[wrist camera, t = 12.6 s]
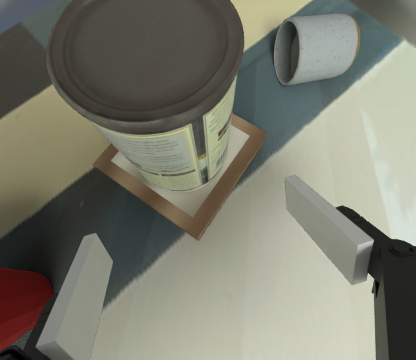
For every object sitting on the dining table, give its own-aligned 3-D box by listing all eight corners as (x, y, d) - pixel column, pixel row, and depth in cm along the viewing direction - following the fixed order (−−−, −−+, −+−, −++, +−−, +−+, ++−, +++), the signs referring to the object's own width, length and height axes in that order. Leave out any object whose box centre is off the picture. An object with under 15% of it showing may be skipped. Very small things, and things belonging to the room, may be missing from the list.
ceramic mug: (340, 87, 32) (377, 38, 25) (284, 98, 32) (305, 52, 25) (314, 31, 35) (340, -27, 28) (262, 41, 35) (275, -16, 28)
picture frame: (108, 175, 29) (91, 164, 25) (174, 97, 32) (168, 75, 28) (198, 240, 27) (196, 238, 23) (260, 148, 30) (268, 132, 26)
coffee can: (137, 109, 27) (60, -30, 13) (225, 106, 27) (238, -38, 13) (131, 196, 24) (25, 129, 10) (230, 193, 24) (252, 121, 10)
